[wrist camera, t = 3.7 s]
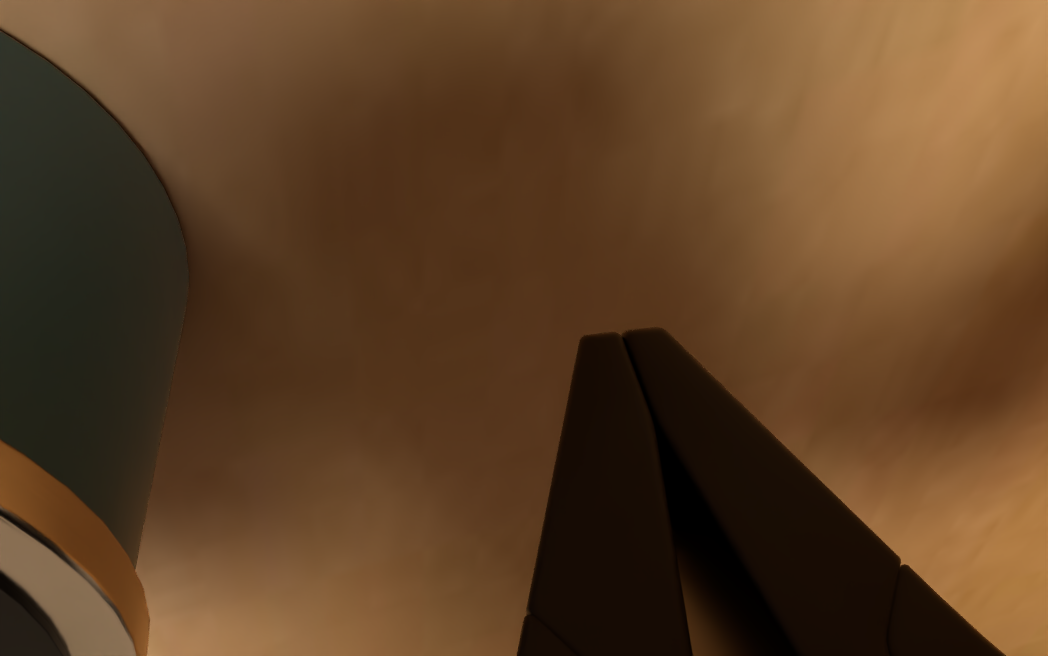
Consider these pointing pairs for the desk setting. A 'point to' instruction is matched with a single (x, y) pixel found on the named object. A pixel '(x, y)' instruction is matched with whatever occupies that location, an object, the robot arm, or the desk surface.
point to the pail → (78, 363)
